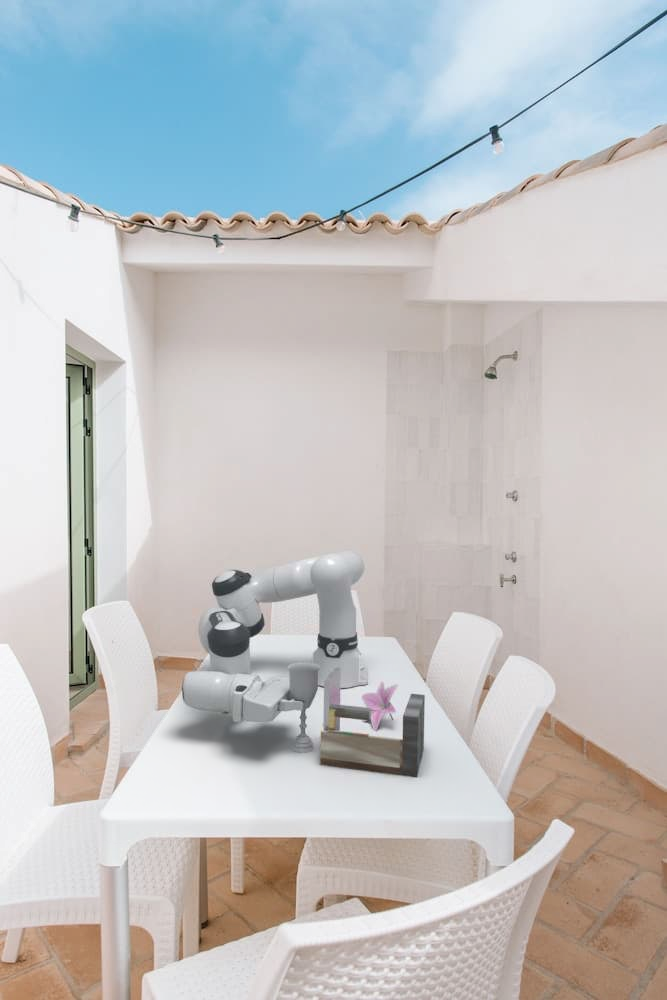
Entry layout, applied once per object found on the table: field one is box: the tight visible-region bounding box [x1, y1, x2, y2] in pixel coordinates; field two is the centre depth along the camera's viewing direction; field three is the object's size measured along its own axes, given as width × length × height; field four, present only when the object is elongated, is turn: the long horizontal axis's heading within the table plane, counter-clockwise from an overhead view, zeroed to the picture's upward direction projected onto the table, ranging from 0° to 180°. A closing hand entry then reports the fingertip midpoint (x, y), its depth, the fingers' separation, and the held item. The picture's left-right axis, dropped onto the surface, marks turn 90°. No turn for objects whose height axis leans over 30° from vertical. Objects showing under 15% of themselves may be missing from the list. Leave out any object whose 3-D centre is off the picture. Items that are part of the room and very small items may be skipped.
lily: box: [361, 680, 399, 732], centre depth 149 cm, size 12×12×10 cm
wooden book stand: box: [319, 693, 426, 778], centre depth 129 cm, size 14×20×12 cm
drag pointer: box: [328, 709, 336, 731], centre depth 126 cm, size 1×1×9 cm
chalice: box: [287, 661, 320, 754], centre depth 133 cm, size 7×7×18 cm
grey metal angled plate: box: [322, 667, 371, 731], centre depth 130 cm, size 11×9×15 cm
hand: (307, 700), depth 133 cm, fingers closed on chalice, 5 cm apart
